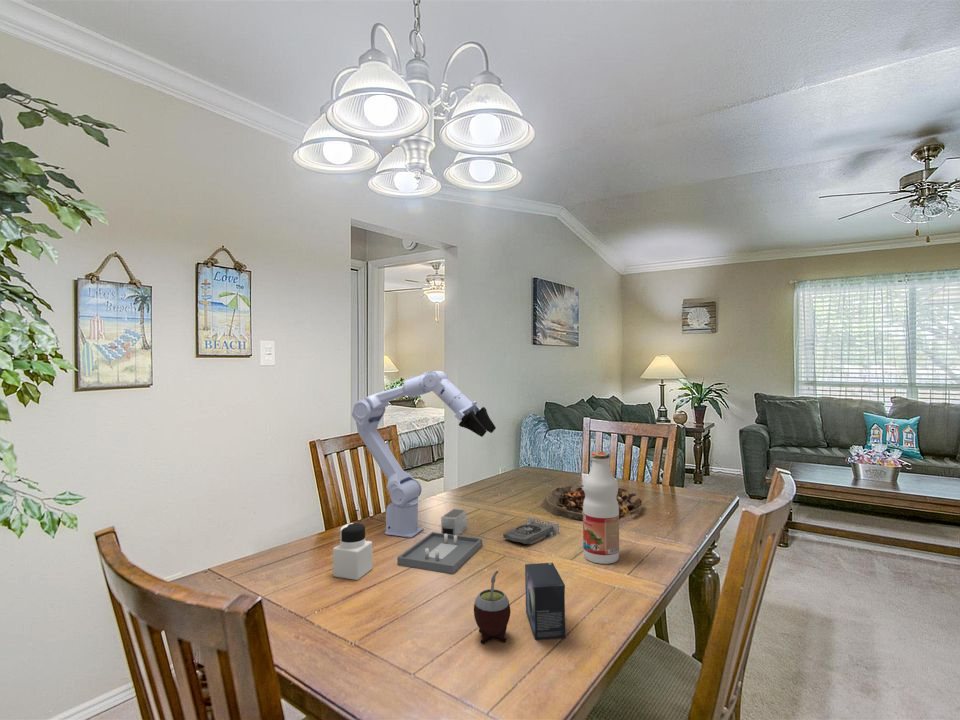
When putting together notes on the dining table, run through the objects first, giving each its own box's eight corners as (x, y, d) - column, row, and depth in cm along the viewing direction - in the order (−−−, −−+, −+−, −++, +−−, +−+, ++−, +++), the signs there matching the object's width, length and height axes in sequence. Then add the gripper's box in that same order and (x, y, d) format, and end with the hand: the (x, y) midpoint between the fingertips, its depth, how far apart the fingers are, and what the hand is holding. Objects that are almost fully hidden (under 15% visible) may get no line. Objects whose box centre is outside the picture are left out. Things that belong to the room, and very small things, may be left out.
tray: (397, 564, 130) (397, 551, 130) (432, 538, 149) (432, 526, 149) (453, 574, 124) (453, 560, 124) (482, 545, 143) (482, 533, 143)
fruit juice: (623, 564, 129) (622, 456, 129) (587, 565, 129) (586, 456, 129) (614, 550, 138) (613, 449, 138) (580, 550, 138) (579, 450, 138)
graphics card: (528, 515, 160) (559, 522, 152) (528, 526, 160) (560, 534, 152) (494, 529, 148) (526, 538, 140) (494, 542, 148) (527, 551, 140)
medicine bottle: (373, 568, 128) (372, 522, 128) (357, 580, 121) (357, 531, 121) (349, 565, 130) (348, 519, 130) (332, 576, 123) (332, 528, 123)
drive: (441, 537, 150) (441, 517, 150) (453, 527, 159) (453, 508, 159) (454, 539, 149) (454, 518, 149) (466, 529, 157) (466, 509, 157)
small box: (523, 612, 105) (523, 562, 105) (554, 610, 106) (553, 561, 106) (533, 640, 95) (532, 585, 95) (567, 638, 95) (566, 584, 95)
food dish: (651, 506, 183) (652, 485, 182) (625, 535, 155) (626, 511, 154) (562, 490, 202) (562, 471, 201) (524, 514, 174) (524, 491, 173)
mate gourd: (489, 622, 101) (488, 549, 101) (521, 636, 96) (520, 558, 96) (465, 639, 95) (464, 560, 95) (497, 654, 90) (497, 571, 90)
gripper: (454, 392, 140) (488, 425, 136) (473, 389, 153) (505, 419, 150) (439, 410, 142) (473, 444, 138) (460, 406, 155) (491, 436, 151)
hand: (489, 432), depth 144 cm, fingers open, 7 cm apart
